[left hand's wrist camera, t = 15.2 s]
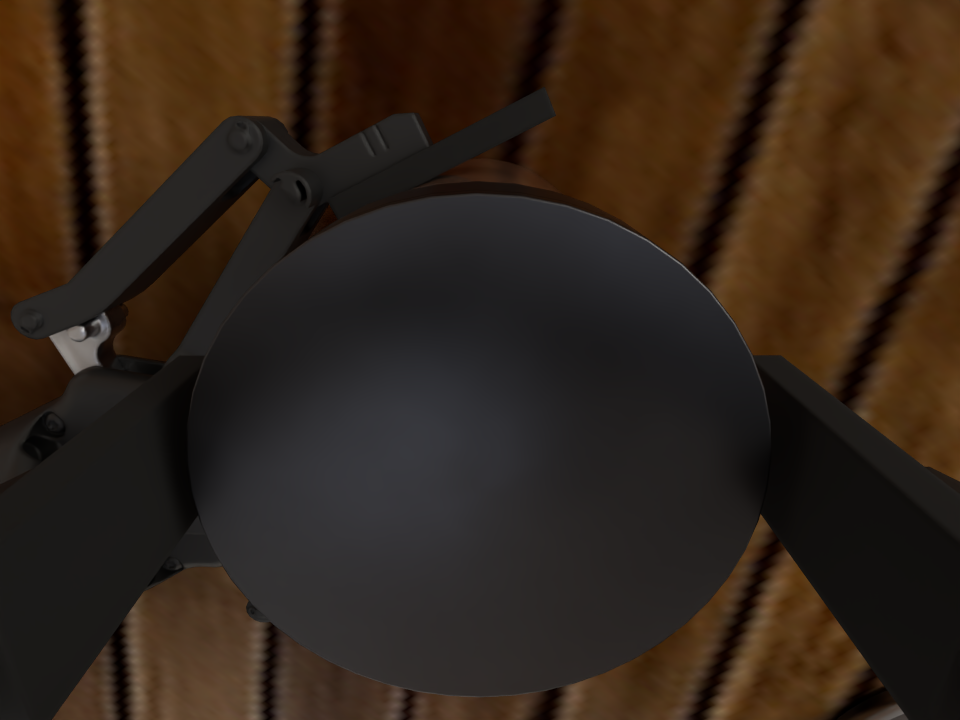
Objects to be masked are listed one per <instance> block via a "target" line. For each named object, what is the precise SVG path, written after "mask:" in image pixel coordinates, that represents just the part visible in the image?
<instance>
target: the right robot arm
mask: <svg viewBox="0 0 960 720" xmlns="http://www.w3.org/2000/svg"><path fill="white" fill-rule="evenodd" d="M554 116H556V114H555V112H554V109H553V107H552V104H551V102H550V100H549V97H548V95H547V92H546V90H545V87H543V88H542V89H540V90H538V91H536V92H534V93H532V94H530V95H528V96H526V97H524V98H522V99H520V100H518V101H517V102H515V103H513V104H511V105H509V106H507V107H505V108H503V109H501V110H499V111H497V112H495V113H493V114H492V115H490V116H488V117H486V118H484V119H482V120H480V121H478V122H476V123H474V124H472V125H470V126H468V127H466V128H465V129H463V130H461V131H459V132H457V133H455V134H453V135H451V136H449V137H447V138H445V139H443V140H441V141H440V142H438V143H436V144H434V145H433V143H432V140H431V138H430V136H429V134H428V132H427V130H426V128H425V126H424V124H423V122H422V120H421V118H420V115H419V113H403V114H393V115H391V116H390V117H388V118H386V119H384V120H382V121H380V122H378V123H377V124H375V125H373V126H371V127H369V128H367V129H365V130H364V131H362V132H360V133H358V134H356V135H354V136H352V137H350V138H348V139H347V140H345V141H343V142H341V143H339V144H337V145H335V146H333V147H332V148H330V149H328V150H326V151H324V152H322V153H320V154H317V153H312V152H310V151H308V150H306V149H305V148H303V147H302V146H301V145H300V144H299V143H298V142H297V141H296V140H294V139H293V138H292V137H291V136H290V135H289V134H288V131H287V129H286V128H285V126H284V125H283V124H282V123H281V122H280V121H279V120H277V119H275V118H272V117H266V116H233V117H229V118H227V119H226V120H224V121H223V122H222V123H221V124H220V125H219V126H218V127H217V128H216V129H215V130H214V131H213V132H212V133H211V134H210V135H209V136H208V137H207V139H206V140H205V141H204V142H203V143H202V144H201V145H200V146H199V147H198V148H197V149H196V150H195V151H194V152H193V153H192V154H191V155H190V156H189V157H188V158H187V159H186V160H185V161H184V163H183V164H182V165H181V166H180V167H179V168H178V169H177V170H176V171H175V172H174V173H173V174H172V175H171V176H170V177H169V178H168V179H167V180H166V181H165V182H164V183H163V184H162V185H161V186H160V188H159V189H158V190H157V191H156V192H155V193H154V194H153V195H152V196H151V197H150V198H149V199H148V200H147V201H146V202H145V203H144V204H143V205H142V206H141V207H140V208H139V209H138V210H137V212H136V213H135V214H134V215H133V216H132V217H131V218H130V219H129V220H128V221H127V222H126V223H125V224H124V225H123V226H122V227H121V228H120V229H119V230H118V231H117V232H116V233H115V234H114V235H113V237H112V238H111V239H110V240H109V241H108V242H107V243H106V244H105V245H104V246H103V247H102V248H101V249H100V250H99V251H98V252H97V253H96V254H95V255H94V256H93V257H92V258H91V259H90V261H89V262H88V263H87V264H86V265H85V266H84V267H83V268H82V269H81V270H80V271H79V272H78V273H77V274H76V275H75V276H74V277H73V278H72V279H71V280H70V281H69V282H68V283H67V284H65V285H62V286H60V287H57V288H55V289H52V290H50V291H47V292H44V293H42V294H39V295H37V296H34V297H32V298H29V299H27V300H24V301H21V302H19V303H18V304H16V305H15V306H14V307H13V309H12V311H11V320H12V322H13V324H14V327H15V328H16V329H17V330H18V331H19V332H20V333H21V334H23V335H25V336H26V337H28V338H32V339H42V338H46V337H48V336H49V337H50V339H51V340H52V342H53V343H54V345H55V346H56V348H57V349H58V351H59V352H60V354H61V355H62V357H63V358H64V360H65V361H66V363H67V364H68V366H69V367H70V369H71V370H72V372H73V373H74V376H73V377H72V379H71V380H70V381H69V383H68V385H67V387H66V390H65V392H64V393H63V395H62V396H60V397H58V398H56V399H54V400H52V401H50V402H48V403H46V404H44V405H42V406H40V407H38V408H36V409H34V410H32V411H30V412H28V413H26V414H24V415H22V416H20V417H18V418H16V419H14V420H12V421H10V422H8V423H6V424H4V425H2V426H0V484H2V483H4V482H6V481H8V480H10V479H12V478H14V477H16V476H18V475H20V474H22V473H24V472H26V471H28V470H30V469H34V468H35V467H36V466H37V465H39V464H40V463H41V462H43V461H44V460H45V459H46V458H48V457H49V456H50V455H52V454H53V453H54V452H55V451H57V450H58V449H59V448H61V447H62V446H63V445H64V444H66V443H67V442H68V441H70V440H71V439H72V438H74V437H75V436H76V435H77V434H79V433H80V432H81V431H83V430H84V429H85V428H86V427H88V426H89V425H90V424H92V423H93V422H94V421H95V420H97V419H98V418H99V417H101V416H102V415H103V414H104V413H106V412H107V411H108V410H110V409H111V408H112V407H113V406H115V405H116V404H117V403H119V402H120V401H121V400H122V399H124V398H125V397H126V396H128V395H129V394H130V393H132V392H133V391H134V390H135V389H137V388H138V387H139V386H141V385H142V384H143V383H144V382H146V381H147V380H148V379H150V378H151V377H152V376H153V375H155V374H156V373H157V372H159V371H160V370H161V369H162V368H164V367H165V366H166V365H168V364H169V363H170V362H171V361H173V360H174V359H175V358H177V357H178V356H205V355H206V353H207V351H208V349H209V347H210V345H211V343H212V341H213V339H214V337H215V335H216V334H217V332H218V330H219V328H220V326H221V324H222V323H223V322H224V320H225V319H226V317H227V316H228V315H229V313H230V312H231V311H232V309H233V308H234V307H235V305H236V304H237V303H238V301H239V300H240V299H241V297H242V296H243V294H244V293H245V292H246V291H247V290H248V289H249V288H250V287H251V286H252V285H253V284H254V283H255V282H256V281H257V280H258V279H259V278H260V277H261V276H262V275H263V274H264V273H265V272H266V271H267V270H268V269H270V268H271V267H272V266H273V265H274V264H275V263H277V262H278V261H279V260H281V259H282V258H283V257H285V256H286V255H288V254H289V253H290V252H292V251H293V250H294V249H296V248H297V247H298V246H300V245H301V244H303V243H304V242H305V241H307V239H308V238H309V236H310V234H311V233H312V231H313V230H314V228H315V226H316V225H317V223H318V222H319V220H320V218H321V217H322V215H323V214H324V212H325V210H326V209H327V207H328V206H329V205H330V206H331V208H332V210H333V212H334V214H335V215H336V217H337V219H338V220H339V219H340V218H342V217H344V216H346V215H348V214H350V213H352V212H354V211H355V210H357V209H359V208H361V207H363V206H365V205H367V204H370V203H373V202H375V201H378V200H381V199H384V198H386V197H389V196H392V195H394V194H397V193H400V192H404V191H408V190H410V189H412V188H414V187H416V186H418V185H420V184H422V183H424V182H426V181H428V180H430V179H432V178H434V177H436V176H438V175H440V174H442V173H444V172H446V171H448V170H450V169H452V168H454V167H456V166H458V165H460V164H462V163H464V162H465V161H467V160H469V159H471V158H473V157H475V156H477V155H479V154H481V153H483V152H485V151H487V150H489V149H491V148H493V147H495V146H497V145H499V144H501V143H503V142H505V141H507V140H509V139H511V138H513V137H515V136H517V135H519V134H520V133H522V132H524V131H526V130H528V129H530V128H532V127H534V126H536V125H538V124H540V123H542V122H544V121H546V120H548V119H550V118H552V117H554ZM258 179H260V180H262V181H263V182H264V183H265V184H266V185H267V186H268V187H269V188H271V190H270V192H269V193H268V195H267V197H266V199H265V200H264V202H263V204H262V205H261V207H260V209H259V211H258V212H257V214H256V216H255V217H254V219H253V221H252V223H251V224H250V226H249V228H248V229H247V231H246V233H245V235H244V236H243V238H242V240H241V241H240V243H239V245H238V247H237V248H236V250H235V252H234V253H233V255H232V257H231V259H230V260H229V262H228V264H227V265H226V267H225V269H224V271H223V272H222V274H221V276H220V277H219V279H218V281H217V283H216V284H215V286H214V288H213V289H212V291H211V293H210V295H209V296H208V298H207V300H206V301H205V303H204V305H203V307H202V308H201V310H200V312H199V313H198V315H197V317H196V319H195V320H194V322H193V324H192V325H191V327H190V329H189V331H188V332H187V334H186V336H185V337H184V339H183V341H182V342H181V344H180V346H179V347H178V348H177V350H176V351H175V352H174V353H173V354H172V355H171V357H170V358H169V359H168V360H167V362H163V361H157V360H151V359H145V358H139V357H132V356H126V355H116V354H115V351H114V349H113V339H114V338H115V336H116V335H117V334H118V333H119V332H120V331H122V330H123V329H124V327H125V325H126V317H127V316H128V312H129V311H128V309H127V307H126V306H125V305H124V304H123V303H124V302H126V301H128V300H130V299H132V298H134V297H135V296H137V295H138V294H140V293H141V292H143V291H144V290H145V289H147V288H148V287H149V286H150V285H151V284H153V283H154V282H155V281H156V280H157V279H158V278H159V277H160V276H161V275H162V274H163V273H164V272H165V271H166V270H167V269H168V268H169V267H170V266H171V265H172V264H173V263H174V262H175V261H176V260H177V259H178V258H179V257H180V256H181V255H182V254H183V253H184V252H185V251H186V250H187V249H188V248H189V247H190V246H191V245H192V244H193V243H194V242H195V241H196V240H197V239H198V238H199V237H200V236H201V235H202V234H203V233H204V232H205V231H206V230H207V229H208V228H209V227H210V226H211V225H212V224H213V223H214V222H215V221H216V220H217V219H219V218H220V217H221V216H222V215H223V214H224V213H225V212H226V211H227V210H228V209H229V208H230V207H231V206H232V205H233V204H234V203H235V202H236V201H237V200H238V199H239V198H240V197H241V196H242V195H243V194H244V193H245V192H246V191H247V190H248V189H249V188H250V187H251V186H252V185H253V184H254V183H255V182H256V181H257V180H258ZM221 566H222V564H221V563H220V561H219V560H218V558H217V556H216V555H215V553H214V551H213V549H212V547H211V545H210V543H209V541H208V538H207V536H206V534H205V532H204V530H203V528H202V525H201V523H200V520H199V516H197V518H196V519H195V520H194V522H193V523H192V525H191V526H190V527H189V529H188V530H187V532H186V533H185V534H184V536H183V537H182V539H181V540H180V541H179V543H178V544H177V545H176V547H175V548H174V550H173V551H172V552H171V554H170V555H169V557H168V558H167V559H166V561H165V562H164V564H163V565H162V566H161V568H160V569H159V571H158V572H157V573H156V575H155V576H154V578H153V579H152V580H151V582H150V583H149V585H148V586H147V587H146V589H145V590H148V589H150V588H152V587H154V586H156V585H158V584H160V583H161V582H163V581H165V580H167V579H168V578H170V577H172V576H173V575H175V574H177V573H179V572H180V571H182V570H184V569H187V568H191V567H221ZM145 590H144V591H145ZM246 609H247V613H248V614H249V616H250V617H251V618H253V619H254V620H256V621H259V622H270V621H269V620H268V619H267V618H266V617H265V616H264V615H263V614H262V613H261V612H260V611H259V610H258V609H256V608H255V607H254V606H253V605H252V604H251V603H250V601H249V602H248V604H247V606H246Z"/></svg>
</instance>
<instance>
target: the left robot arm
mask: <svg viewBox="0 0 960 720" xmlns="http://www.w3.org/2000/svg"><path fill="white" fill-rule="evenodd" d="M204 357H205V356H178V357H177V358H175V359H174V360H173V361H171V362H170V363H169V364H168V365H166V366H165V367H164V368H162V369H161V370H160V371H159V372H157V373H156V374H155V375H153V376H152V377H151V378H150V379H148V380H147V381H146V382H144V383H143V384H142V385H141V386H139V387H138V388H137V389H135V390H134V391H133V392H132V393H130V394H129V395H128V396H126V397H125V398H124V399H122V400H121V401H120V402H119V403H117V404H116V405H115V406H113V407H112V408H111V409H110V410H108V411H107V412H106V413H104V414H103V415H102V416H101V417H99V418H98V419H97V420H95V421H94V422H93V423H92V424H90V425H89V426H88V427H86V428H85V429H84V430H83V431H81V432H80V433H79V434H77V435H76V436H75V437H74V438H72V439H71V440H70V441H68V442H67V443H66V444H64V445H63V446H62V447H61V448H59V449H58V450H57V451H55V452H54V453H53V454H52V455H50V456H49V457H48V458H46V459H45V460H44V461H43V462H41V463H40V464H39V465H37V466H36V467H35V468H34V469H30V470H28V471H26V472H24V473H22V474H20V475H18V476H16V477H14V478H12V479H10V480H8V481H6V482H4V483H2V484H0V720H52V718H53V717H54V716H55V714H56V713H57V711H58V710H59V709H60V707H61V706H62V705H63V703H64V702H65V700H66V699H67V698H68V696H69V695H70V693H71V692H72V691H73V689H74V688H75V686H76V685H77V684H78V682H79V681H80V679H81V678H82V677H83V675H84V674H85V672H86V671H87V670H88V668H89V667H90V665H91V664H92V663H93V661H94V660H95V658H96V657H97V656H98V654H99V653H100V652H101V650H102V649H103V647H104V646H105V645H106V643H107V642H108V640H109V639H110V638H111V636H112V635H113V633H114V632H115V631H116V629H117V628H118V626H119V625H120V624H121V622H122V621H123V619H124V618H125V617H126V615H127V614H128V612H129V611H130V610H131V608H132V607H133V605H134V604H135V603H136V601H137V600H138V598H139V597H140V596H141V594H142V593H143V592H144V590H145V589H146V587H147V586H148V585H149V583H150V582H151V580H152V579H153V578H154V576H155V575H156V573H157V572H158V571H159V569H160V568H161V566H162V565H163V564H164V562H165V561H166V559H167V558H168V557H169V555H170V554H171V552H172V551H173V550H174V548H175V547H176V545H177V544H178V543H179V541H180V540H181V539H182V537H183V536H184V534H185V533H186V532H187V530H188V529H189V527H190V526H191V525H192V523H193V522H194V520H195V519H196V518H197V516H198V513H197V510H196V507H195V503H194V500H193V497H192V493H191V487H190V480H189V473H188V466H187V422H188V416H189V410H190V404H191V398H192V392H193V389H194V386H195V383H196V380H197V377H198V374H199V371H200V368H201V365H202V362H203V359H204ZM753 358H754V361H755V363H756V366H757V369H758V372H759V375H760V378H761V380H762V383H763V386H764V389H765V395H766V400H767V406H768V411H769V417H770V422H771V464H770V472H769V480H768V487H767V492H766V496H765V499H764V503H763V506H762V510H761V515H762V516H763V518H764V519H765V520H766V522H767V523H768V525H769V526H770V527H771V529H772V530H773V532H774V533H775V534H776V536H777V537H778V539H779V540H780V541H781V543H782V544H783V546H784V547H785V548H786V550H787V551H788V552H789V554H790V555H791V557H792V558H793V559H794V561H795V562H796V564H797V565H798V566H799V568H800V569H801V571H802V572H803V573H804V575H805V576H806V578H807V579H808V580H809V582H810V583H811V585H812V586H813V587H814V589H815V590H816V592H817V593H818V594H819V596H820V597H821V599H822V600H823V601H824V603H825V604H826V605H827V607H828V608H829V610H830V611H831V612H832V614H833V615H834V617H835V618H836V619H837V621H838V622H839V624H840V625H841V626H842V628H843V629H844V631H845V632H846V633H847V635H848V636H849V638H850V639H851V640H852V642H853V643H854V645H855V646H856V647H857V649H858V650H859V652H860V653H861V654H862V656H863V657H864V658H865V660H866V661H867V663H868V664H869V665H870V667H871V668H872V670H873V671H874V672H875V674H876V675H877V677H878V678H879V679H880V681H881V682H882V684H883V685H884V686H885V688H886V689H887V691H884V692H882V693H880V694H878V695H875V696H873V697H871V698H869V699H867V700H865V701H864V702H862V703H860V704H858V705H857V706H855V707H853V708H852V709H850V710H849V711H847V712H846V713H845V714H843V715H842V716H841V717H839V718H838V719H837V720H960V482H959V481H957V480H955V479H953V478H951V477H949V476H947V475H945V474H943V473H941V472H939V471H937V470H935V469H933V468H931V467H924V466H923V465H921V464H920V463H919V462H917V461H916V460H915V459H914V458H912V457H911V456H910V455H908V454H907V453H906V452H905V451H903V450H902V449H901V448H899V447H898V446H897V445H896V444H894V443H893V442H892V441H890V440H889V439H888V438H886V437H885V436H884V435H883V434H881V433H880V432H879V431H877V430H876V429H875V428H874V427H872V426H871V425H870V424H868V423H867V422H866V421H865V420H863V419H862V418H861V417H859V416H858V415H857V414H856V413H854V412H853V411H852V410H850V409H849V408H848V407H847V406H845V405H844V404H843V403H841V402H840V401H839V400H838V399H836V398H835V397H834V396H832V395H831V394H830V393H828V392H827V391H826V390H825V389H823V388H822V387H821V386H819V385H818V384H817V383H816V382H814V381H813V380H812V379H810V378H809V377H808V376H807V375H805V374H804V373H803V372H801V371H800V370H799V369H798V368H796V367H795V366H794V365H792V364H791V363H790V362H789V361H787V360H786V359H785V358H783V357H782V356H753Z"/></svg>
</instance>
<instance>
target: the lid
mask: <svg viewBox="0 0 960 720" xmlns="http://www.w3.org/2000/svg"><path fill="white" fill-rule="evenodd" d="M770 464H771V422H770V417H769V411H768V406H767V400H766V395H765V389H764V386H763V383H762V380H761V378H760V375H759V372H758V369H757V366H756V363H755V361H754V358H753V355H752V353H751V351H750V349H749V347H748V346H747V344H746V342H745V340H744V338H743V336H742V334H741V333H740V331H739V329H738V327H737V325H736V323H735V322H734V320H733V319H732V318H731V316H730V315H729V314H728V312H727V311H726V310H725V309H724V307H723V306H722V305H721V303H720V302H719V301H718V299H717V298H716V297H715V295H714V294H713V293H712V292H711V290H710V289H709V288H707V287H706V286H705V285H704V284H703V283H702V282H701V281H700V280H699V279H698V278H697V277H696V276H695V275H694V274H693V273H692V272H691V271H690V270H689V269H688V268H687V267H686V266H685V265H684V264H683V263H681V262H680V261H679V260H677V259H676V258H674V257H673V256H671V255H670V254H669V253H667V252H666V251H664V250H663V249H662V248H660V247H659V246H657V245H656V244H655V243H653V242H652V241H650V240H649V239H648V238H646V237H645V236H643V235H642V234H640V233H639V232H637V231H636V230H635V229H633V228H632V227H630V226H629V225H627V224H626V223H625V222H623V221H622V220H620V219H618V218H616V217H614V216H612V215H610V214H608V213H606V212H604V211H602V210H600V209H598V208H596V207H595V206H593V205H591V204H589V203H586V202H583V201H580V200H577V199H574V198H572V197H569V196H566V195H563V194H560V193H557V192H554V191H550V190H545V189H540V188H535V187H530V186H525V185H520V184H515V183H499V182H483V181H472V182H459V183H446V184H436V185H432V186H427V187H422V188H418V189H413V190H408V191H404V192H400V193H397V194H394V195H392V196H389V197H386V198H384V199H381V200H378V201H375V202H373V203H370V204H367V205H365V206H363V207H361V208H359V209H357V210H355V211H354V212H352V213H350V214H348V215H346V216H344V217H342V218H340V219H339V220H337V221H335V222H333V223H332V224H330V225H329V226H327V227H326V228H324V229H323V230H321V231H320V232H318V233H317V234H315V235H314V236H313V237H311V238H310V239H308V240H307V241H305V242H304V243H303V244H301V245H300V246H298V247H297V248H296V249H294V250H293V251H292V252H290V253H289V254H288V255H286V256H285V257H283V258H282V259H281V260H279V261H278V262H277V263H275V264H274V265H273V266H272V267H271V268H270V269H268V270H267V271H266V272H265V273H264V274H263V275H262V276H261V277H260V278H259V279H258V280H257V281H256V282H255V283H254V284H253V285H252V286H251V287H250V288H249V289H248V290H247V291H246V292H245V293H244V294H243V296H242V297H241V299H240V300H239V301H238V303H237V304H236V305H235V307H234V308H233V309H232V311H231V312H230V313H229V315H228V316H227V317H226V319H225V320H224V322H223V323H222V324H221V326H220V328H219V330H218V332H217V334H216V335H215V337H214V339H213V341H212V343H211V345H210V347H209V349H208V351H207V353H206V355H205V357H204V359H203V362H202V365H201V368H200V371H199V374H198V377H197V380H196V383H195V386H194V389H193V392H192V398H191V404H190V410H189V416H188V422H187V466H188V473H189V480H190V487H191V493H192V497H193V500H194V503H195V507H196V510H197V513H198V516H199V520H200V523H201V525H202V528H203V530H204V532H205V534H206V536H207V538H208V541H209V543H210V545H211V547H212V549H213V551H214V553H215V555H216V556H217V558H218V560H219V561H220V563H221V564H222V566H223V567H224V569H225V571H226V572H227V574H228V575H229V577H230V578H231V580H232V581H233V582H234V583H235V585H236V586H237V587H238V588H239V589H240V591H241V592H242V593H243V594H244V595H245V597H246V598H247V599H248V600H249V601H250V603H251V604H252V605H253V606H254V607H255V608H256V609H258V610H259V611H260V612H261V613H262V614H263V615H264V616H265V617H266V618H267V619H268V620H269V621H270V622H271V623H272V624H273V625H275V626H276V627H277V628H279V629H280V630H281V631H283V632H284V633H285V634H287V635H288V636H289V637H291V638H292V639H293V640H295V641H296V642H297V643H299V644H300V645H302V646H303V647H305V648H307V649H308V650H310V651H312V652H314V653H315V654H317V655H319V656H320V657H322V658H324V659H325V660H327V661H329V662H331V663H334V664H336V665H338V666H340V667H342V668H345V669H347V670H349V671H351V672H353V673H355V674H358V675H361V676H364V677H367V678H370V679H373V680H376V681H379V682H382V683H385V684H388V685H392V686H397V687H401V688H405V689H409V690H414V691H418V692H425V693H433V694H440V695H447V696H468V697H491V696H511V695H519V694H526V693H532V692H539V691H545V690H549V689H553V688H557V687H561V686H566V685H570V684H574V683H577V682H580V681H583V680H585V679H588V678H591V677H594V676H597V675H600V674H602V673H605V672H607V671H609V670H612V669H614V668H616V667H618V666H620V665H622V664H624V663H626V662H629V661H631V660H633V659H635V658H636V657H638V656H640V655H641V654H643V653H645V652H646V651H648V650H650V649H651V648H653V647H655V646H656V645H658V644H659V643H661V642H662V641H664V640H665V639H666V638H668V637H669V636H670V635H672V634H673V633H674V632H675V631H677V630H678V629H679V628H681V627H682V626H683V625H685V624H686V623H687V622H688V621H689V620H690V619H691V618H692V617H693V616H694V615H695V614H696V613H697V612H698V611H699V610H700V609H701V608H702V607H703V606H705V605H706V604H707V603H708V602H709V600H710V599H711V598H712V597H713V596H714V594H715V593H716V592H717V591H718V589H719V588H720V587H721V586H722V584H723V583H724V582H725V581H726V580H727V578H728V577H729V576H730V574H731V572H732V571H733V569H734V567H735V566H736V564H737V563H738V561H739V559H740V558H741V556H742V554H743V553H744V551H745V550H746V547H747V545H748V543H749V541H750V538H751V536H752V534H753V532H754V529H755V527H756V525H757V523H758V520H759V517H760V513H761V510H762V506H763V503H764V499H765V496H766V492H767V487H768V480H769V472H770Z"/></svg>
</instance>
